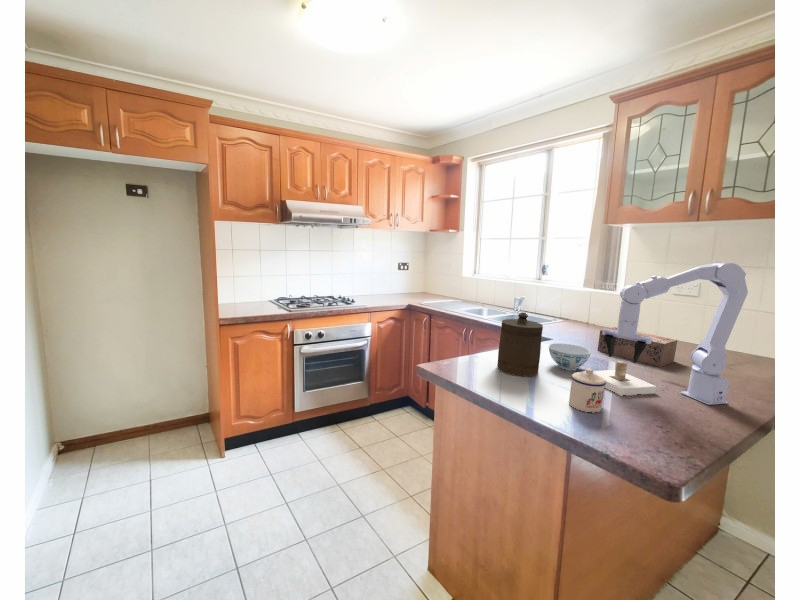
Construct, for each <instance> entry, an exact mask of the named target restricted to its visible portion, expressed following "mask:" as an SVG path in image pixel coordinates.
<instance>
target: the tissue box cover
mask: <svg viewBox="0 0 800 600" xmlns="http://www.w3.org/2000/svg"><path fill="white" fill-rule="evenodd" d="M607 329H610V330H617V327H610V328H607ZM602 331H603V329H600V330H599V334H598V335H599V337H598V342H597V343H598V344H597V351H598V352H602V353H606V354H608V348H607V345H606V342H605V340H604V337H605V335H602ZM636 334H638V335H642V336H646V337H651V338H652V340H651V344H648V345H647V346H646V347H645V348H644V350H643V351H642V353H641V354H640V356H639V358H638V361H637V362H640V363H643V364H647V363H648V364H647V365H651V364H652V366H655V365H656V367H659V366H660V367H659V368H662V367H664V366H666V364H667V365H669V364H672V363H674V362H675V357H676V351H677V344H678V339H675V338H671V337H670V338H669V337H665V336H660V335H655V334H650V333H646V332H640V331H637V333H636ZM636 342H638V341H633V340H628V339H624V338H619V337H616V341H615V345H614V353H613V356H617V357H622V358H624V359H627V360H628V359H629V360H632V361H633V358H634V353H635V343H636ZM671 362H672V363H671ZM668 363H669V364H668ZM661 366H662V367H661Z"/></svg>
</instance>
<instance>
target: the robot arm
mask: <svg viewBox="0 0 800 600" xmlns="http://www.w3.org/2000/svg"><path fill="white" fill-rule="evenodd" d="M746 275H747V273H746V271H745V270H744V269H743V268H742V267H741V266H740V264H739V265H738V264H737V263H734V262H721V261H715V262H710V263H706V264H701V265H698V266H696V267H694V268H690V269H687V270H685V271H683V272H678V273H676V274H673V275H670V276H669V277H664V276H661V275H659V276H656V275H651V276H650V278H649V279H647V280H643V281H636V282H635V283H634V284H635V285H633V284H629V285H628V284H627V285H626V286H624V287H623V288H622V289H621V291H620V292H619V295H620V298H621V301H620V302H621V303H620V307H619V312H618V313H619V314H618V323H617V327H616V328H617V330H610V329H608V328H603V329H602V330H603V331H602V335H605V337H604V340H605V342H606V345H607V348H608V353H607V354H608V357H609V358H612V357H614V355H613V353H614V345H615V341H616V337H619V338H624V339H628V340H633V341H638V342H636V343H635V353H634V358H633V360H632V363H634V364H637V363H638V362H639V361H638V358H639V356H640V354H641V353H642V351H643V350H644V348H645V347H646V346H647V345H648V344H651V340H652V338H651V337H646V336H642V335H638V334H636V333H637V332H638V326H639V318H640V312H641V304H642V302H643V301H644V300H647V299H650V298H653V297H656V296H660V295H663V294H666V293H668V292H669V290H670V288H673V287H675V286H679V285H684V284H687V283H690V282H694V281H698V280H703V281H710V282H711V283H712V284H714V285H715V286H717V288H718V289H719V291H721V292H722V297H721V299H720V301H719V304H718V306H717V308H716V311H715V314H714V316H713V318H712V321H711V323H710V326H709V328H708V329H707V330H708V331H707V333H706V335H705V338H704V340H702V341H701V342H699V343H698V345H697V347H696V348H694V350H693V351H692V352H691V353H690V357H689V358H690V360H691V363H692V366H691V368H690V369H691V370H690V376H689V381H688V387H687V390H686V391H685V390H684V391H683V390H682V391H680V394H682V395H684V396H687V397H689V398H692V399H694V400H696V401H699V402H701V403H704V404H707V405H710V406H711V405H712V406H713V405H724V404H728V403H729V402H728V401H727V398H728V393H729V389H730V382H729V380H728V379H727V378H726V377H723V376H722V375H721V373H723V372H724V371H725V370H726V369H727V362H726V358H727V356H728V352H727V349H726V345H727V343H728V341H729V338H730V335H731V333H732V332H733V328H734V326H735V324H736V322H737V319H738V317H739V314H740V312H741V310H742V308H743V305H744V303H745V301H746V298H747V296H748V293H749V292H748V291H749V290H748V287H747V286H748V285H747V282H746Z"/></svg>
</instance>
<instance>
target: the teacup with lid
mask: <svg viewBox="0 0 800 600" xmlns="http://www.w3.org/2000/svg"><path fill="white" fill-rule="evenodd" d="M593 371H594V369H592V368H589V367H588V368H585V370H583V371H577V372H574V373H573V374H571V376H570V377H571V383H570V390H569V397H568V404H569V406H570V405H571V406H572V407H571V406H570V407H571V408H573V407H574V408H573V409H575V408H576V409H575V410H577V409H578V410H577V411H579V410H581V411H580V412H582V411H585V412H584V413H587V412H592V413H591V414H596V413H595V412H597V413H600V412H601V411H602V406H603V398H604V393H605V392H604V391H605V388H604V386H605V384H606V382H605V380H604V379H603V378H602V377H600V376H598V375H597V374H595V373H593Z"/></svg>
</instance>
